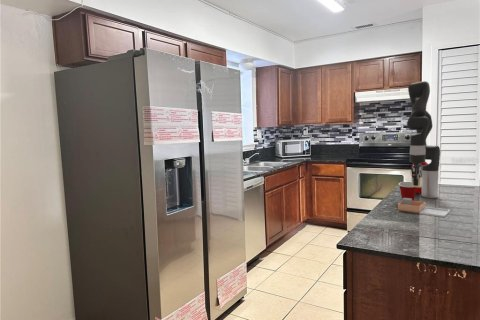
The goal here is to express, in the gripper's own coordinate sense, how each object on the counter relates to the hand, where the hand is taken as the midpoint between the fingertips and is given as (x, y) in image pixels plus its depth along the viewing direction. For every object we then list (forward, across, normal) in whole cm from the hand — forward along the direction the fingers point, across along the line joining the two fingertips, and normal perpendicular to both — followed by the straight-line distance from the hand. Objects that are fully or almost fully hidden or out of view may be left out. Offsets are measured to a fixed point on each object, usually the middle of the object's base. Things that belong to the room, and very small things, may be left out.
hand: (416, 184), depth 180 cm
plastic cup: (+15, -15, -8) cm, 23 cm away
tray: (+15, 0, +9) cm, 17 cm away
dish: (+15, 0, -2) cm, 15 cm away
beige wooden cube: (+1, 0, 0) cm, 1 cm away
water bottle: (+15, -50, -12) cm, 53 cm away
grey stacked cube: (+14, 0, -5) cm, 15 cm away
